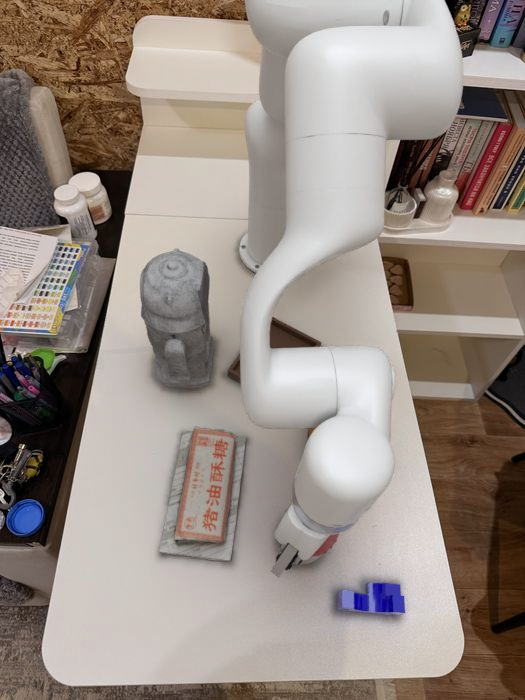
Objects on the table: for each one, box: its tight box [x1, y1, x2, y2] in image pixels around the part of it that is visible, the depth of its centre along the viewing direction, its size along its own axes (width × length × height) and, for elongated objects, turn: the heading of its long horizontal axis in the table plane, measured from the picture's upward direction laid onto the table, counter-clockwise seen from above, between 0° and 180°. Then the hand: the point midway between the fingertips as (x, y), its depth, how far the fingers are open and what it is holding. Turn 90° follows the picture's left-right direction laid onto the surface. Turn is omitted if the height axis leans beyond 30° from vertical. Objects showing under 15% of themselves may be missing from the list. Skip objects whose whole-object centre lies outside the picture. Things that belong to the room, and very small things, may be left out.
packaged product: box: [158, 425, 247, 562], centre depth 73 cm, size 18×5×10 cm
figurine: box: [139, 247, 215, 389], centre depth 76 cm, size 10×14×25 cm
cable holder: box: [336, 582, 406, 616], centre depth 67 cm, size 8×4×4 cm, turn 85°
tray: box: [227, 316, 322, 384], centre depth 86 cm, size 13×11×2 cm
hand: (308, 530), depth 67 cm, fingers closed on lid, 7 cm apart
